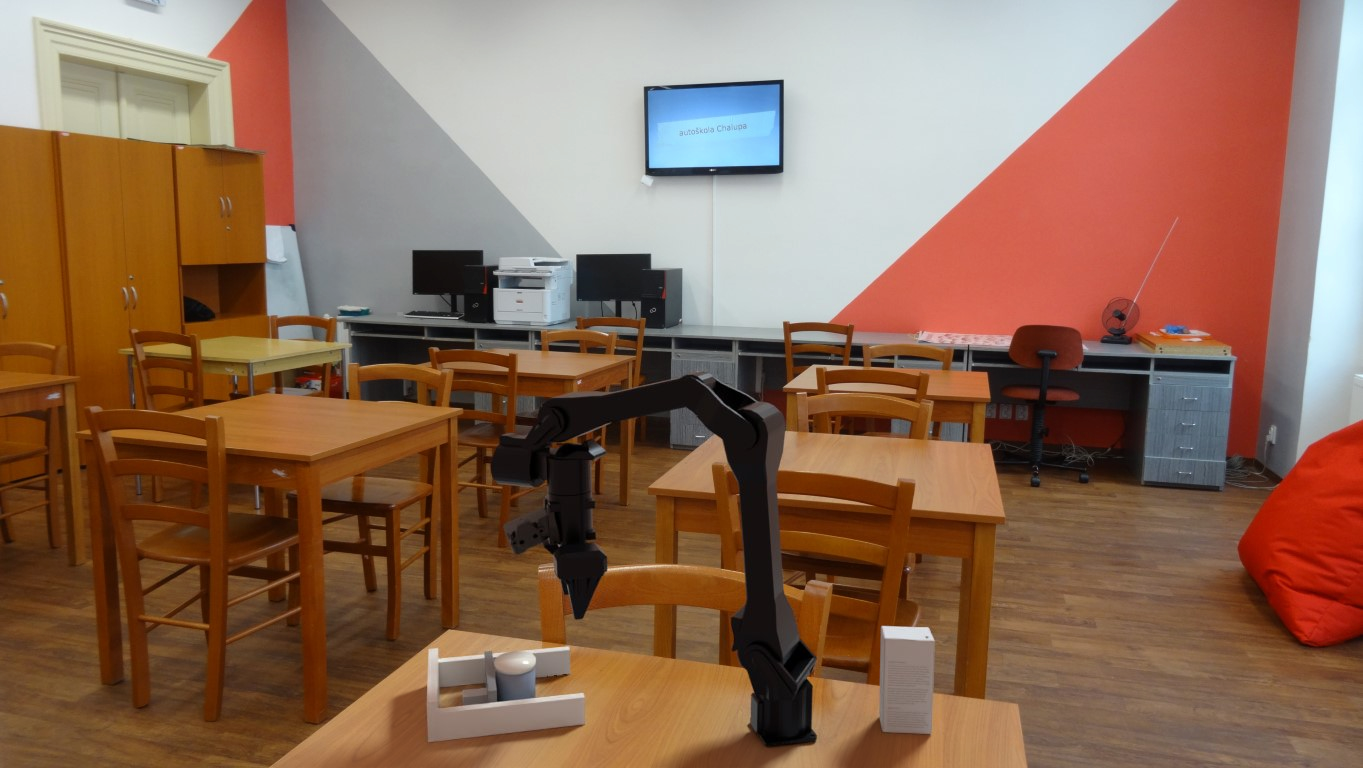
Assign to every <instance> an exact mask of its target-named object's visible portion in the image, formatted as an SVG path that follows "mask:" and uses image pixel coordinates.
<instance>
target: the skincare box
mask: <svg viewBox="0 0 1363 768" xmlns="http://www.w3.org/2000/svg"><path fill="white" fill-rule="evenodd" d="M935 648H936V641H935V638H934V636H933V634H932V632H931V629H930V628H929V627H927V626H926V627H921V626H920V627H919V626H918V627H915V626H891V625H881V626H880V654H879V655H880V657H879V659H880V660H879V661H880V663H879V666H880V667H879V696H878V697H879V702H878V703H879V704H878V705H879V706H878V707H879V708H878V716H879V717H878V718H879V721H880V726H881V731H882V732H883V733H896V734H898V733H899V734H917V735H918V734H920V735H921V734H922V735H931V734H932V732H933V709H934V708H933V706H934V705H933V703H934V684H935V683H934V682H935V681H934V679H935V677H934V676H935V674H934V673H935Z"/></svg>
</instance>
